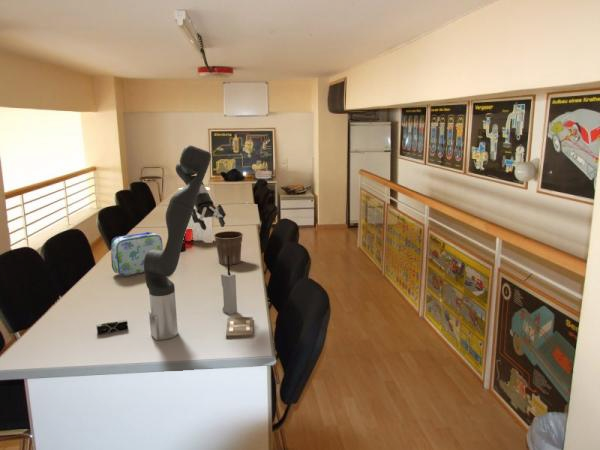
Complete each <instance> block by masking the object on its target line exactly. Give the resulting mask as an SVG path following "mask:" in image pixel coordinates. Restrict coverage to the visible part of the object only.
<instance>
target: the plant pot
mask: <svg viewBox="0 0 600 450" xmlns="http://www.w3.org/2000/svg"><path fill="white" fill-rule="evenodd" d="M243 237H244V233H243V232H241V231H235V230H227V231H226V230H225V231H220V232H216V233H215V234H214V235H213V238H214V241H215V245H216V250H217V251H216V252H217V256H218V257H217V259H218V263H219V264H221V265H224V266H228V258H227V256H229V266H233V265H234V264H235V265H237V264H239V263H241V259H242V257H241V256H242V242H243Z"/></svg>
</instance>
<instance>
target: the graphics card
mask: <svg viewBox="0 0 600 450" xmlns="http://www.w3.org/2000/svg"><path fill="white" fill-rule="evenodd" d="M95 326H96V334H97V335H98V336H99V335H104V334H111V333H116V332H121V331H128V330H129V323H128V320H127V319H123V320H118V321H113V322H110V321H109V322H104V323H101V324H96V325H95Z"/></svg>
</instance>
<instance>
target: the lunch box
mask: <svg viewBox="0 0 600 450" xmlns="http://www.w3.org/2000/svg"><path fill="white" fill-rule="evenodd" d="M110 244H111V245H110V246H111V248H110V249H111V250H110V251H111V252H110V253H111V254H110V255H111V256H110V257H111V258H110V259H111V267H112V271H113V273H115V274H118V275H120V276H121V277H129V276H132V275H137V274H141V273H143V274H144V273H145V272H144V258H145V256H146V254H147V252H148V251H150V250H152V249H158V250H164V249H163V248H164V247H163V239H162V236H160V235H159V234H157V233H154V232H149V231H145V232H141V233H135V234H126V235H125V234H124V235H119V236H115V237H114V238H112V239H111V243H110Z"/></svg>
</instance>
